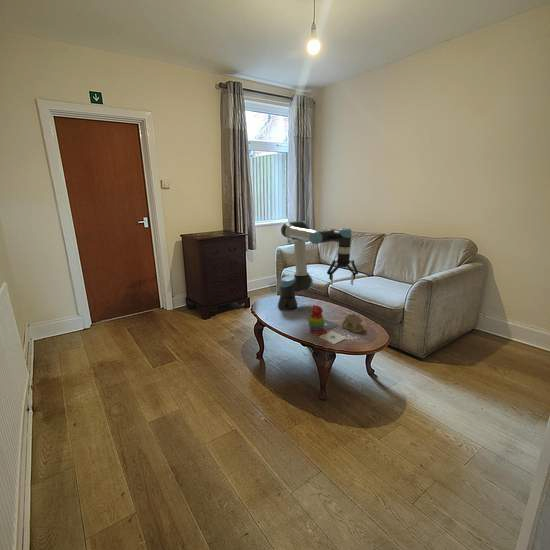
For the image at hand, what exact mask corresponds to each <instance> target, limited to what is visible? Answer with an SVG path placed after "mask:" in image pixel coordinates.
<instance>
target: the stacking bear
mask: <svg viewBox="0 0 550 550" xmlns="http://www.w3.org/2000/svg"><path fill="white" fill-rule="evenodd" d="M323 312H324V311H323V308H322V307H321V306H320V305H314V304H312V307H311V314H310V316H309V320H308V323H309V333H310V335H314V336H315V335H316V336H322V335H324V334H326V333H328V330H325V329H323V326H324V316H323Z"/></svg>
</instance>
